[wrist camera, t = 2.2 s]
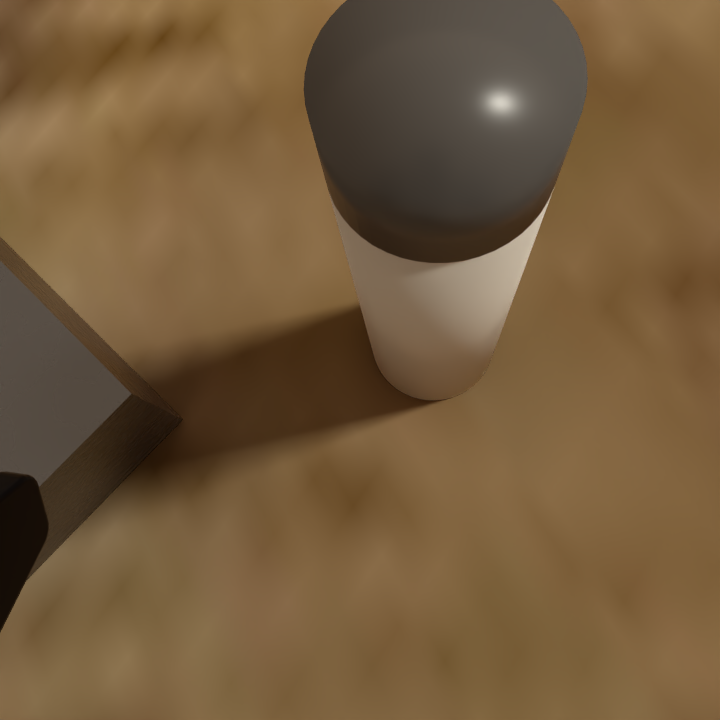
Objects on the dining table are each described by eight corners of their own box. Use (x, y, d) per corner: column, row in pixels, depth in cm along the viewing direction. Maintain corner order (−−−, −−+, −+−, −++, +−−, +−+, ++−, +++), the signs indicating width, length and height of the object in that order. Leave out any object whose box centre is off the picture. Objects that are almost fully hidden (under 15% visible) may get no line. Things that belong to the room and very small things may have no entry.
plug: (518, 336, 22) (647, 57, 9) (437, 425, 21) (457, 260, 9) (427, 262, 23) (430, -80, 10) (347, 346, 22) (247, 94, 10)
